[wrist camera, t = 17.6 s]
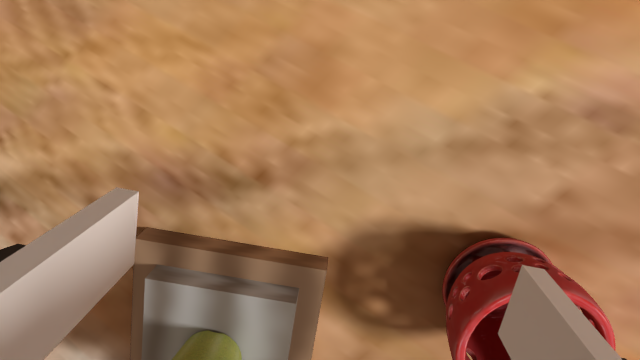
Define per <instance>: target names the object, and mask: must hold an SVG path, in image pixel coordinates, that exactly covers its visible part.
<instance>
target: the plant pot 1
mask: <svg viewBox="0 0 640 360" xmlns="http://www.w3.org/2000/svg"><path fill="white" fill-rule="evenodd" d="M172 360H242V355H241V351H240V349H239V347H238V345H237V344H236V342H235V341H234V340H233V339H232V338H230V337H229V336H227V335H226V334H223V333H215V332H211V331H201V332H198V333H196V334H194V335H192V336H191V337H190V338H189V339H188V340H187V341H186V342H185V344H184V345H183V346H182V347H181V348H180V350H179V351H178V352H177V354H176V355H175V356H174V357H173V358H172Z"/></svg>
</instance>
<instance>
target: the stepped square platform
mask: <svg viewBox="0 0 640 360" xmlns="http://www.w3.org/2000/svg"><path fill="white" fill-rule="evenodd" d="M327 263H328V257H322V256H316V255H310V254H304V253H298V252H292V251H286V250H280V249H274V248H268V247H262V246H255V245H249V244H243V243H237V242H231V241H225V240H219V239H213V238H207V237H201V236H195V235H189V234H183V233H177V232H171V231H165V230H159V229H153V228H146V229H145V230H144V231H142V232H141V233H140V234H139V235H138V236H137V237H136V243H135V258H134V268H133V295H132V323H131V350H130V360H172V358H173V357H174V356H175V355H176V354H177V352H178V351H179V350H180V348H181V347H182V346H183V345H184V344H185V342H186V341H187V340H188V339H189V338H190V337H191V336H192V335H194V334H196V333H198V332H201V331H211V332H215V333H223V334H226V335H227V336H229V337H230V338H232V339H233V340H234V341H235V342H236V344H237V345H238V347H239V349H240V351H241V355H242V360H311V358H312V352H313V346H314V341H315V335H316V329H317V324H318V318H319V312H320V307H321V301H322V295H323V290H324V284H325V278H326V272H327Z"/></svg>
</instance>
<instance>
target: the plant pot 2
mask: <svg viewBox="0 0 640 360" xmlns="http://www.w3.org/2000/svg"><path fill="white" fill-rule="evenodd" d="M522 265H525V266H530V267H535V268H540V269H545V271H546V272H547V273H548V274H549V275H550V276H551V277H552V279H553V280H554V281H555V282H556V283H557V284H558V286H559V287H560V288H561V289H562V290H563V291H564V293H565V294H566V295H567V296H568V297H569V298H570V300H571V301H572V302H573V303H574V304H575V305H576V306H577V308H578V309H579V310H580V309H581V310H582V312H583V315H584V316H585V317H586V318H587V319H588V320H589V322H590V323H591V324H592V325H593V326H594V327H595V328H596V330H597V331H598V332H599V333H600V334H601V335H602V337H603V338H604V339H605V340H606V341H607V342H608V344H609V345H610V346H611V347H612V348H613V349H614V350H615V337H614V333H613V329H612V327H611V324H610V322H609V320H608V319H607V317H606V315H605V314H604V312H603V311H602V310H601V308H600V307H599V306H598V304H597V303H596V302H595V301H594V299H593V298H592V297H591V296H590V295H589V294H588V293H587V292H586V291H585V290H584V289H583V288H582V287H581V286H580V285H579V284H578V283H576V282H575V281H574V280H573V279H571V278H570V277H568V276H567V275H565V274H564V273H563V272H562V271H560V270H559V269H558V268H556V267H555V266H554V265H552V263H551V261H550V260H549V258H548V257H547V256H546V255H545V254H544V253H543V252H542V251H541V250H540V249H538V248H537V247H535V246H533V245H531V244H529V243H527V242H524V241H521V240H517V239H512V238H494V239H488V240H484V241H481V242H478V243H476V244H474V245H472V246H470V247H468V248H467V249H465V250H464V251H462V252H461V253H460V254H459V255H458V256H457V257H456V258H455V259H454V260H453V261H452V263H451V264H450V266H449V268H448V270H447V272H446V274H445V277H444V281H443V288H442V293H443V300H444V304H445V306H446V329H447V336H448V342H449V347H450V351H451V355H452V359H453V360H470V359H469V357H468V356H467V354H466V352H467V353H468V354H469V355H470V356H471V357H472V359H473V360H511V358H510V356H509V354H508V352H507V350H506V348H505V347H504V345H503V343H502V341H501V339H500V337H499V335H498V332H499V329H500V326H501V323H502V320H503V318H504V315H505V312H506V309H507V306H508V303H509V301H510V298H511V295H512V292H513V289H514V286H515V284H516V281H517V278H518V275H519V272H520V269H521V267H522Z"/></svg>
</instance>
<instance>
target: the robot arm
mask: <svg viewBox="0 0 640 360" xmlns="http://www.w3.org/2000/svg"><path fill="white" fill-rule="evenodd" d="M138 197H139V192H138V191H133V190H128V189H122V188H117V187H116V188H115V189H113V190H112V191H110V192H109V193H107V194H105V195H104V196H102V197H101V198H99V199H98V200H96V201H95V202H93V203H91V204H90V205H88V206H87V207H85V208H84V209H82V210H81V211H79V212H77V213H76V214H74V215H73V216H71V217H70V218H68V219H67V220H65V221H63V222H62V223H60V224H59V225H57V226H56V227H54V228H53V229H51V230H49V231H48V232H46V233H45V234H43V235H42V236H40V237H39V238H37V239H35V240H34V241H32V242H31V243H29V244H28V245H21V244H16V245H13V246H10V247H7V248H4V249H1V250H0V360H44V359H45V358H46V357H47V356H48V355H49V353H50V352H51V351H52V350H53V349H54V348H55V347H56V346H57V345H58V344H59V343H60V342H61V341H62V340H63V339H64V338H65V337H66V335H67V334H68V333H69V332H70V331H71V330H72V329H73V328H74V327H75V326H76V325H77V324H78V323H79V322H80V321H81V320H82V319H83V318H84V316H85V315H86V314H87V313H88V312H89V311H90V310H91V309H92V308H93V307H94V306H95V305H96V304H97V303H98V302H99V301H100V300H101V298H102V297H103V296H104V295H105V294H106V293H107V292H108V291H109V290H110V289H111V288H112V287H113V286H114V285H115V284H116V283H117V282H118V281H119V279H120V278H121V277H122V276H123V275H124V274H125V273H126V272H127V271H128V270H129V269H130V268H131V267H132V266H133V265H134V258H135V243H136V227H137V212H138ZM498 335H499V337H500V339H501V341H502V343H503V345H504V347H505V348H506V350H507V352H508V354H509V356H510V358H511V360H626V359H625V358H621V357H620V356H619V355H618V354H617V353H616V352H615V350H614V349H613V348H612V347H611V346H610V345H609V344H608V342H607V341H606V340H605V339H604V338H603V337H602V335H601V334H600V333H599V332H598V331H597V330H596V328H595V327H594V326H593V325H592V324H591V323H590V322H589V320H588V319H587V318H586V317H585V316H584V315H583V313H582V312H581V311H580V310H579V309H578V308H577V306H576V305H575V304H574V303H573V302H572V301H571V300H570V298H569V297H568V296H567V295H566V294H565V293H564V291H563V290H562V289H561V288H560V287H559V286H558V284H557V283H556V282H555V281H554V280H553V279H552V277H551V276H550V275H549V274H548V273H547V272H546V271H545V269H540V268H535V267H530V266H525V265H522V267H521V269H520V272H519V275H518V278H517V281H516V284H515V286H514V289H513V292H512V295H511V298H510V301H509V303H508V306H507V309H506V312H505V315H504V318H503V320H502V323H501V326H500V329H499V332H498Z"/></svg>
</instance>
